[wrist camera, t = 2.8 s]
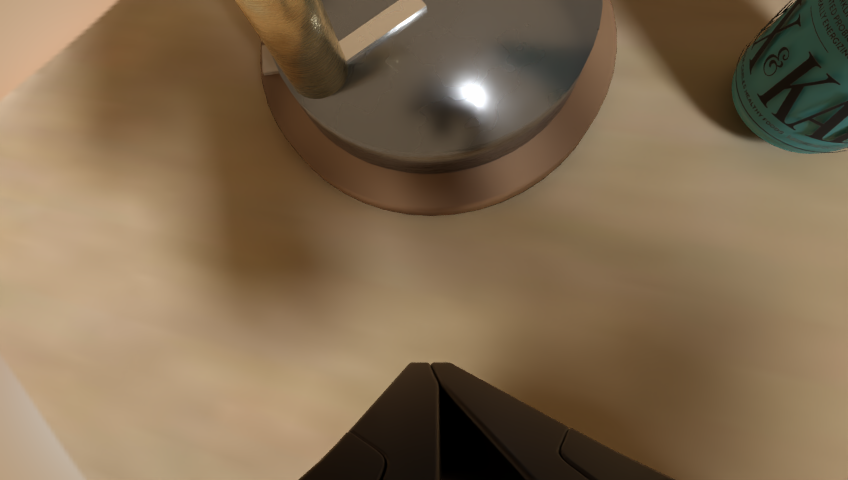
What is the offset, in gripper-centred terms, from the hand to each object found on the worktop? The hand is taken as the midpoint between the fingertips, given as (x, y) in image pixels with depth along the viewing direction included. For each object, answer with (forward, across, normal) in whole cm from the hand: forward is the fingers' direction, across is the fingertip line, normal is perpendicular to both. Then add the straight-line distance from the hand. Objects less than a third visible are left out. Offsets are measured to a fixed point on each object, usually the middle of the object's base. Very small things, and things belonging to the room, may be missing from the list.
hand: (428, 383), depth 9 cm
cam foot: (+16, +1, +9) cm, 19 cm away
